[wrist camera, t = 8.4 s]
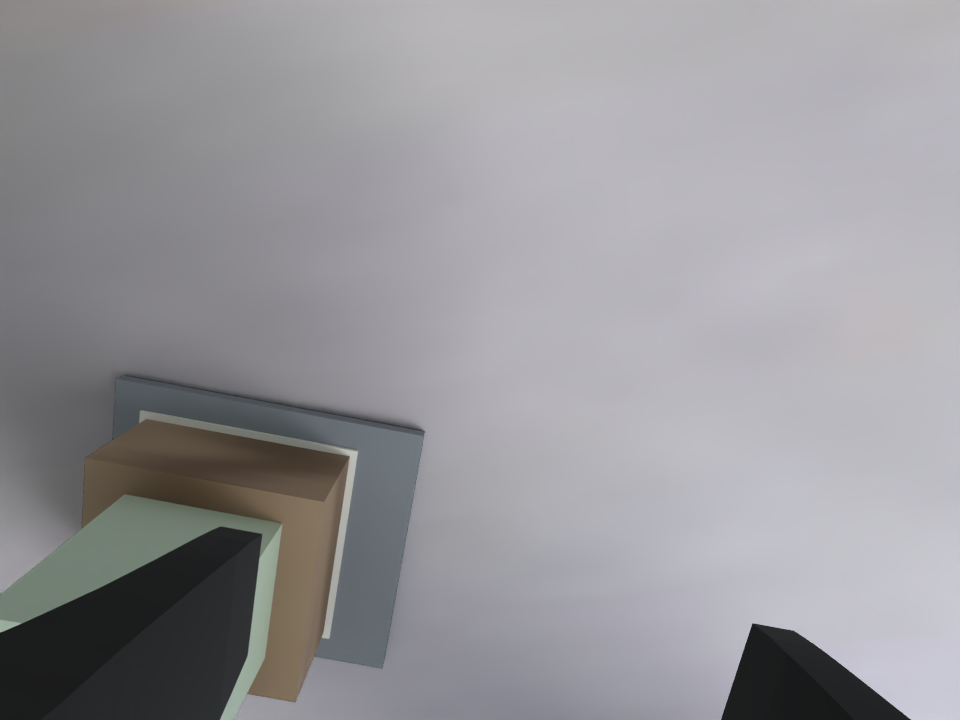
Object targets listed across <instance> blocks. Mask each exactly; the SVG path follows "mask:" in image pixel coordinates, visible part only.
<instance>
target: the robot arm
mask: <svg viewBox="0 0 960 720" xmlns="http://www.w3.org/2000/svg"><path fill="white" fill-rule="evenodd" d="M261 541H262V534H260V533H255V532H249V531H244V530H238V529H233V528H228V527H222V526H220V527H218V528H215V529H213V530H211V531H209V532H207V533H205V534H203V535H201V536H199V537H197V538H195V539H193V540H191V541H189V542H187V543H185V544H184V545H182V546H180V547H178V548H176V549H174V550H172V551H170V552H168V553H166V554H165V555H163V556H161V557H159V558H157V559H155V560H153V561H151V562H149V563H147V564H145V565H143V566H141V567H139V568H138V569H136V570H134V571H132V572H130V573H128V574H126V575H124V576H122V577H120V578H118V579H116V580H114V581H112V582H110V583H108V584H106V585H104V586H102V587H100V588H98V589H96V590H94V591H92V592H89V593H87V594H85V595H83V596H81V597H78V598H76V599H74V600H72V601H70V602H68V603H65V604H63V605H61V606H59V607H57V608H55V609H52V610H50V611H48V612H46V613H44V614H42V615H39V616H37V617H35V618H33V619H31V620H29V621H26V622H24V623H22V624H20V625H17V626H15V627H12V628H10V629H8V630H5V631H3V632H0V720H220V719H221V716H222V714H223V712H224V710H225V707H226V705H227V703H228V701H229V698H230V696H231V694H232V692H233V689H234V687H235V685H236V682H237V680H238V678H239V675H240V673H241V670H242V668H243V666H244V663H245V661H246V659H247V656H248V649H249V641H250V633H251V624H252V616H253V608H254V599H255V591H256V583H257V574H258V566H259V558H260V549H261ZM721 720H910V719H909V718H908V717H907V716H905V715H904V714H903V713H902V712H900V711H899V710H898V709H896V708H895V707H894V706H893V705H891V704H890V703H889V702H888V701H886V700H885V699H884V698H883V697H881V696H880V695H879V694H878V693H876V692H875V691H874V690H873V689H871V688H870V687H869V686H867V685H866V684H865V683H864V682H862V681H861V680H860V679H859V678H857V677H856V676H855V675H854V674H852V673H851V672H850V671H848V670H847V669H846V668H845V667H843V666H842V665H841V664H839V663H838V662H837V661H836V660H834V659H833V658H832V657H830V656H829V655H828V654H826V653H825V652H824V651H822V650H821V649H820V648H818V647H817V646H816V645H814V644H813V643H811V642H810V641H808V640H807V639H805V638H804V637H802V636H801V635H799V634H798V633H796V632H795V631H791V630H786V629H780V628H775V627H769V626H764V625H758V624H752V627H751V630H750V633H749V636H748V639H747V642H746V645H745V648H744V651H743V654H742V657H741V660H740V664H739V667H738V670H737V673H736V676H735V679H734V682H733V685H732V688H731V691H730V694H729V697H728V700H727V703H726V706H725V709H724V713H723V716H722V719H721Z"/></svg>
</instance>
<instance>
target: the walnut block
mask: <svg viewBox="0 0 960 720" xmlns="http://www.w3.org/2000/svg"><path fill="white" fill-rule="evenodd" d="M349 459H350V456H344V455H339V454H333V453H328V452H323V451H317V450H312V449H306V448H301V447H296V446H290V445H285V444H279V443H274V442H269V441H263V440H258V439H252V438H247V437H242V436H236V435H231V434H225V433H220V432H215V431H209V430H204V429H198V428H193V427H188V426H182V425H177V424H171V423H166V422H161V421H155V420H150V419H145V420H144V421H142V422H141V423H139V424H137V425H136V426H134V427H133V428H131V429H130V430H128V431H126V432H125V433H123V434H122V435H120V436H119V437H117V438H116V439H114V440H112V441H111V442H109V443H108V444H106V445H105V446H103V447H101V448H100V449H98V450H97V451H95V452H94V453H92V454H90V455H89V456H87V457H86V458H85V468H84V489H83V509H82V528H83V527H85V526H86V525H87V524H88V523H90V522H91V521H92V520H93V519H95V518H96V517H97V516H98V515H100V514H101V513H102V512H103V511H105V510H106V509H107V508H108V507H110V506H111V505H112V504H113V503H115V502H116V501H117V500H118V499H119V498H121V497H122V496H123V495H124V494H126V495H132V496H137V497H142V498H148V499H153V500H159V501H164V502H169V503H175V504H180V505H186V506H191V507H196V508H202V509H207V510H212V511H218V512H223V513H229V514H234V515H239V516H245V517H250V518H256V519H261V520H266V521H272V522H277V523H282V531H281V538H280V546H279V554H278V561H277V569H276V577H275V584H274V592H273V600H272V607H271V615H270V623H269V631H268V638H267V646H266V654H265V659H264V661H263V663H262V665H261V667H260V669H259V671H258V673H257V675H256V677H255V679H254V681H253V683H252V685H251V687H250V689H249V691H248V693H247V694H251V695H257V696H263V697H268V698H274V699H279V700H285V701H291V702H296V700H297V697H298V695H299V692H300V690H301V687H302V685H303V682H304V680H305V677H306V675H307V672H308V670H309V667H310V665H311V662H312V660H313V657H314V655H315V652H316V650H317V647H318V645H319V642H320V640H321V637H322V635H323V632H324V626H325V619H326V612H327V606H328V599H329V593H330V586H331V579H332V573H333V566H334V559H335V553H336V546H337V539H338V533H339V526H340V519H341V513H342V506H343V499H344V493H345V486H346V479H347V473H348V466H349Z"/></svg>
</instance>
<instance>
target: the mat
mask: <svg viewBox="0 0 960 720" xmlns="http://www.w3.org/2000/svg"><path fill="white" fill-rule="evenodd" d="M145 419H150V420H155V421H161V422H166V423H171V424H177V425H182V426H188V427H193V428H198V429H204V430H209V431H215V432H220V433H225V434H231V435H236V436H242V437H247V438H252V439H258V440H263V441H269V442H274V443H279V444H285V445H290V446H296V447H301V448H306V449H312V450H317V451H323V452H328V453H333V454H339V455H344V456H350V459H349V466H348V473H347V479H346V486H345V493H344V499H343V506H342V513H341V519H340V526H339V533H338V539H337V546H336V553H335V559H334V566H333V573H332V579H331V586H330V593H329V599H328V606H327V612H326V619H325V626H324V632H323V635H322V637H321V640H320V642H319V645H318V647H317V650H316V652H315V655H314V656H315V657H321V658H326V659H332V660H337V661H343V662H348V663H354V664H360V665H365V666H371V667H376V668H382V667H383V663H384V658H385V653H386V647H387V641H388V636H389V630H390V625H391V619H392V613H393V608H394V602H395V596H396V591H397V585H398V579H399V574H400V568H401V563H402V557H403V551H404V546H405V540H406V534H407V529H408V523H409V517H410V512H411V506H412V500H413V495H414V489H415V484H416V478H417V472H418V467H419V461H420V455H421V450H422V444H423V438H424V433H425V431H419V430H414V429H409V428H403V427H398V426H393V425H387V424H382V423H376V422H371V421H366V420H360V419H355V418H350V417H344V416H339V415H333V414H328V413H323V412H317V411H312V410H307V409H301V408H296V407H291V406H285V405H280V404H274V403H269V402H264V401H258V400H253V399H248V398H242V397H237V396H231V395H226V394H221V393H215V392H210V391H205V390H199V389H194V388H189V387H183V386H178V385H172V384H167V383H162V382H156V381H151V380H146V379H140V378H135V377H129V376H124V375H123V376H121V377H119V378H117V379H116V387H115V404H114V421H113V439H112V440H114V439H116V438H117V437H119V436H120V435H122V434H123V433H125V432H126V431H128V430H130V429H131V428H133V427H134V426H136V425H137V424H139V423H141V422H142V421H144V420H145Z"/></svg>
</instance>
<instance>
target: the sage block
mask: <svg viewBox="0 0 960 720" xmlns="http://www.w3.org/2000/svg"><path fill="white" fill-rule="evenodd" d="M220 526H222V527H228V528H233V529H238V530H244V531H249V532H255V533H260V534H262V541H261V549H260V558H259V566H258V574H257V583H256V591H255V599H254V608H253V616H252V624H251V633H250V641H249V649H248V656H247V659H246V661H245V663H244V666H243V668H242V670H241V673H240V675H239V678H238V680H237V682H236V685H235V687H234V689H233V692H232V694H231V696H230V698H229V701H228V703H227V705H226V707H225V710H224V712H223V714H222V716H221V719H220V720H234V718H235V716H236V714H237V713H238V711H239V709H240V707H241V705H242V703H243V701H244V699H245V697H246V695H247V693H248V691H249V689H250V687H251V685H252V683H253V681H254V679H255V677H256V675H257V673H258V671H259V669H260V667H261V665H262V663H263V661H264V659H265V654H266V646H267V638H268V631H269V623H270V615H271V607H272V600H273V592H274V584H275V577H276V569H277V561H278V554H279V546H280V538H281V531H282V523H277V522H272V521H266V520H261V519H256V518H250V517H245V516H239V515H234V514H229V513H223V512H218V511H212V510H207V509H202V508H196V507H191V506H186V505H180V504H175V503H169V502H164V501H159V500H153V499H148V498H142V497H137V496H132V495H126V494H124V495H123V496H122V497H121V498H119V499H118V500H117V501H116V502H115V503H113V504H112V505H111V506H110V507H108V508H107V509H106V510H105V511H103V512H102V513H101V514H100V515H98V516H97V517H96V518H95V519H93V520H92V521H91V522H90V523H88V524H87V525H86V526H85V527H83V528H82V529H81V530H80V531H78V532H77V533H76V534H75V535H73V536H72V537H71V538H70V539H68V540H67V541H66V542H65V543H63V544H62V545H61V546H60V547H58V548H57V549H56V550H55V551H53V552H52V553H51V554H50V555H48V556H47V557H46V558H45V559H44V560H42V561H41V562H40V563H39V564H37V565H36V566H35V567H34V568H32V569H31V570H30V571H29V572H27V573H26V574H25V575H24V576H22V577H21V578H20V579H19V580H17V581H16V582H15V583H14V584H12V585H11V586H10V587H9V588H7V589H6V590H5V591H4V592H2V593H1V594H0V632H3V631H5V630H8V629H10V628H12V627H15V626H17V625H20V624H22V623H24V622H26V621H29V620H31V619H33V618H35V617H37V616H39V615H42V614H44V613H46V612H48V611H50V610H52V609H55V608H57V607H59V606H61V605H63V604H65V603H68V602H70V601H72V600H74V599H76V598H78V597H81V596H83V595H85V594H87V593H89V592H92V591H94V590H96V589H98V588H100V587H102V586H104V585H106V584H108V583H110V582H112V581H114V580H116V579H118V578H120V577H122V576H124V575H126V574H128V573H130V572H132V571H134V570H136V569H138V568H139V567H141V566H143V565H145V564H147V563H149V562H151V561H153V560H155V559H157V558H159V557H161V556H163V555H165V554H166V553H168V552H170V551H172V550H174V549H176V548H178V547H180V546H182V545H184V544H185V543H187V542H189V541H191V540H193V539H195V538H197V537H199V536H201V535H203V534H205V533H207V532H209V531H211V530H213V529H215V528H218V527H220Z"/></svg>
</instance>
